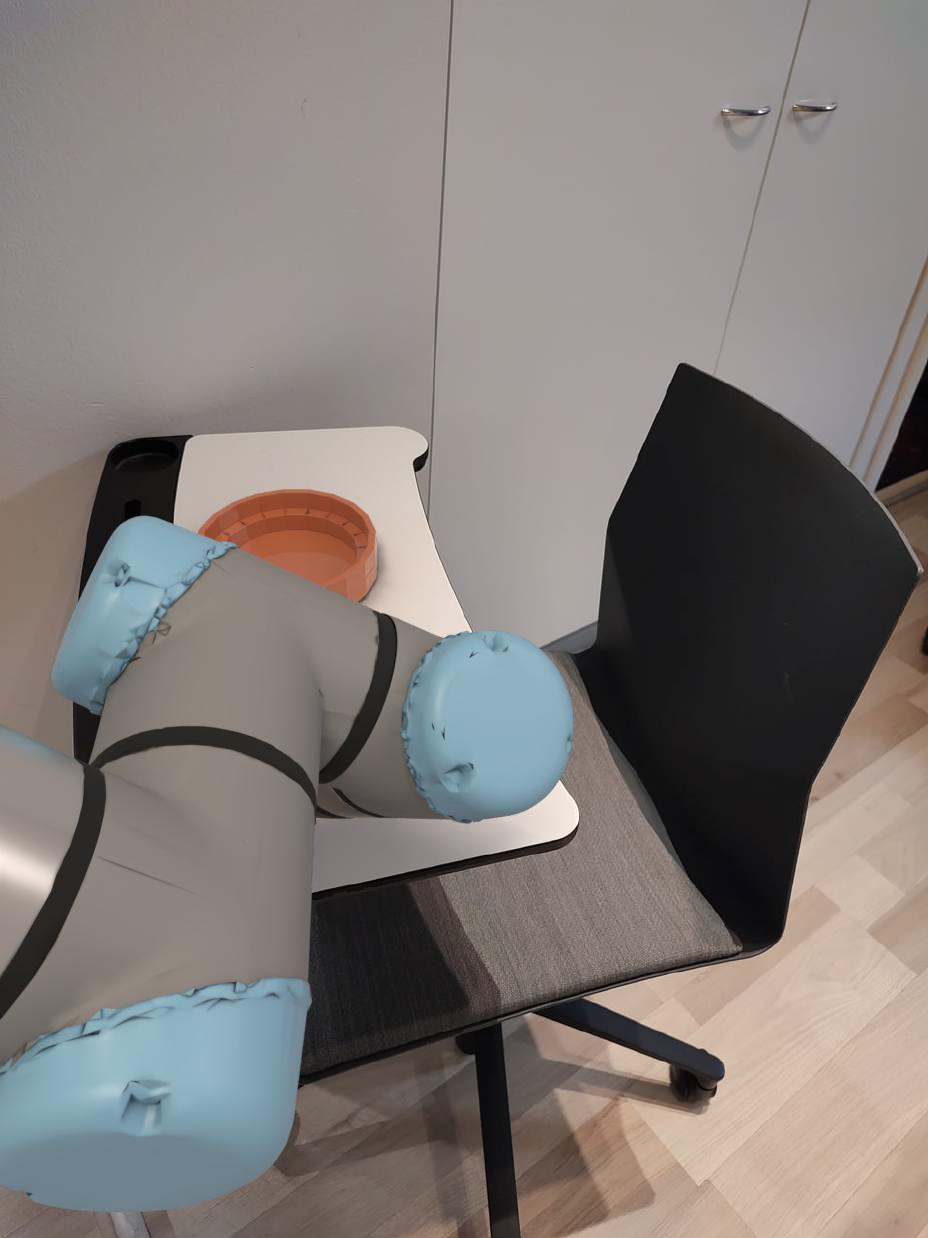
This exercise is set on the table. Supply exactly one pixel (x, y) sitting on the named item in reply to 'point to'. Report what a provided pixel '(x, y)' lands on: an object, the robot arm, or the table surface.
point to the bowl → (304, 536)
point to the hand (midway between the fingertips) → (226, 767)
